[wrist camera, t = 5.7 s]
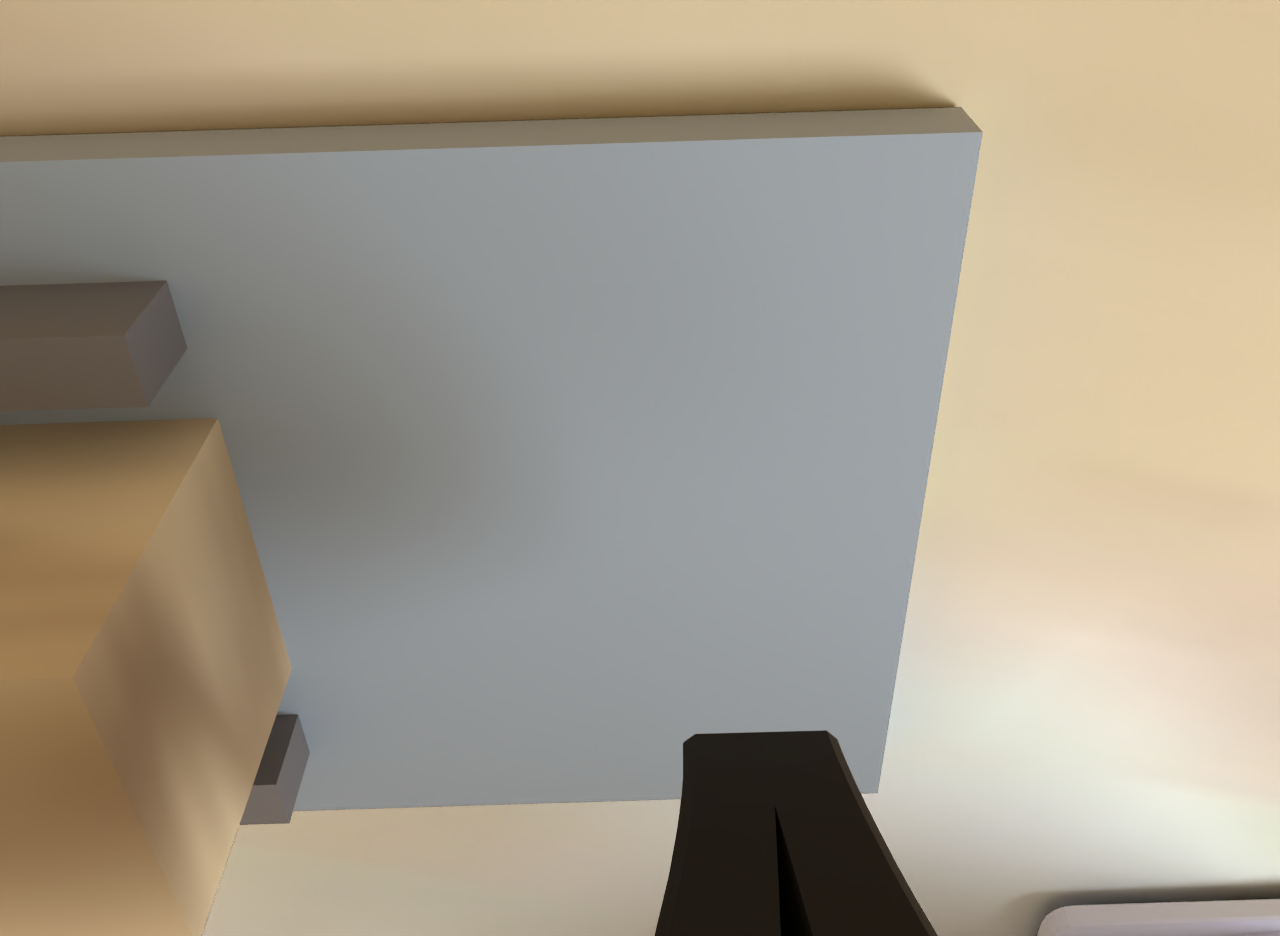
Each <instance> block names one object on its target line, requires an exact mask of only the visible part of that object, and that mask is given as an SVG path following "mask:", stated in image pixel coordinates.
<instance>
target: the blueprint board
mask: <svg viewBox="0 0 1280 936" xmlns="http://www.w3.org/2000/svg"><path fill="white" fill-rule="evenodd" d="M981 138H982V131H981V130H980V129H979V127H978V126H977V125H976V124H975V123H974V122H973V120H972V119H971V118H970V117H969V116H968V115H967V114H966V112H965V111H964V110H963V109H962V108H961V107H951V108H918V109H885V110H853V111H820V112H787V113H755V114H722V115H689V116H657V117H624V118H591V119H559V120H526V121H493V122H461V123H428V124H395V125H363V126H330V127H297V128H265V129H232V130H199V131H167V132H134V133H101V134H69V135H36V136H4V137H0V425H17V424H50V423H83V422H116V421H149V420H182V419H215V418H218V421H219V424H220V428H221V431H222V434H223V438H224V441H225V445H226V448H227V451H228V455H229V458H230V461H231V465H232V468H233V472H234V475H235V478H236V482H237V485H238V488H239V492H240V495H241V499H242V502H243V505H244V509H245V512H246V515H247V519H248V522H249V526H250V529H251V532H252V536H253V539H254V542H255V546H256V549H257V553H258V556H259V559H260V563H261V566H262V569H263V573H264V576H265V580H266V583H267V586H268V590H269V593H270V596H271V600H272V603H273V606H274V610H275V613H276V617H277V620H278V623H279V627H280V630H281V633H282V637H283V640H284V644H285V647H286V650H287V654H288V657H289V660H290V664H291V667H292V670H291V673H290V676H289V679H288V682H287V685H286V688H285V691H284V694H283V697H282V700H281V703H280V706H279V709H278V712H277V715H276V718H275V721H274V724H273V727H272V730H271V733H270V735H269V738H268V741H267V744H266V747H265V750H264V753H263V756H262V759H261V762H260V765H259V768H258V771H257V774H256V777H255V780H254V783H253V786H252V789H251V792H250V795H249V798H248V801H247V804H246V807H245V810H244V813H243V816H242V818H241V821H240V824H239V825H248V824H280V823H289V822H290V819H291V815H292V812H293V811H311V810H344V809H376V808H408V807H440V806H473V805H505V804H537V803H570V802H602V801H634V800H666V799H681V796H682V783H683V742H684V741H686V740H687V739H689V738H690V737H692V736H693V735H694V734H709V733H746V732H784V731H822V730H827V731H828V732H829V733H830V734H832V735H833V736H834V737H835V738H837V739H838V742H839V745H840V747H841V750H842V752H843V755H844V757H845V760H846V762H847V764H848V766H849V769H850V771H851V773H852V776H853V778H854V780H855V782H856V785H857V787H858V789H859V791H860V793H878V787H879V781H880V774H881V768H882V762H883V755H884V749H885V743H886V737H887V730H888V724H889V718H890V711H891V705H892V699H893V692H894V686H895V680H896V674H897V667H898V661H899V655H900V648H901V642H902V636H903V629H904V623H905V617H906V611H907V604H908V598H909V592H910V585H911V579H912V573H913V566H914V560H915V554H916V548H917V541H918V535H919V529H920V522H921V516H922V510H923V504H924V497H925V491H926V485H927V478H928V472H929V466H930V459H931V453H932V447H933V441H934V434H935V428H936V422H937V415H938V409H939V403H940V396H941V390H942V384H943V378H944V371H945V365H946V359H947V352H948V346H949V340H950V334H951V327H952V321H953V315H954V308H955V302H956V296H957V289H958V283H959V277H960V271H961V264H962V258H963V252H964V245H965V239H966V233H967V226H968V220H969V214H970V208H971V201H972V195H973V189H974V182H975V176H976V170H977V164H978V157H979V151H980V145H981Z"/></svg>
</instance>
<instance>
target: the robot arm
mask: <svg viewBox="0 0 1280 936" xmlns="http://www.w3.org/2000/svg"><path fill="white" fill-rule="evenodd" d="M655 936H937V934H936V932H935V930H934V929H933V927H932V925H931V924H930V922H929V920H928V919H927V917H926V915H925V914H924V912H923V910H922V908H921V907H920V905H919V903H918V902H917V900H916V898H915V897H914V895H913V893H912V891H911V889H910V888H909V886H908V884H907V882H906V880H905V879H904V877H903V875H902V873H901V871H900V870H899V868H898V866H897V864H896V862H895V860H894V858H893V856H892V854H891V853H890V851H889V849H888V847H887V845H886V843H885V841H884V839H883V837H882V835H881V833H880V832H879V830H878V828H877V826H876V824H875V822H874V820H873V818H872V816H871V814H870V812H869V810H868V808H867V806H866V804H865V802H864V799H863V797H862V795H861V793H860V791H859V789H858V787H857V785H856V782H855V780H854V778H853V776H852V773H851V771H850V769H849V766H848V764H847V762H846V760H845V757H844V755H843V752H842V750H841V747H840V745H839V742H838V739H837V738H835V737H834V736H833V735H832V734H830V733H829V732H828V731H827V730H822V731H784V732H746V733H709V734H694V735H693V736H692V737H690V738H689V739H687V740H686V741H684V742H683V783H682V796H681V806H680V814H679V821H678V828H677V834H676V840H675V845H674V851H673V856H672V862H671V867H670V873H669V878H668V882H667V886H666V890H665V894H664V899H663V903H662V907H661V911H660V916H659V920H658V924H657V928H656V933H655ZM1037 936H1280V899H1259V900H1226V901H1194V902H1162V903H1130V904H1098V905H1072V906H1064V907H1061V908H1058V909H1056V910H1053V911H1052V912H1050V913H1049V914H1048V915H1046V917H1045V918H1044V920H1043V921H1042V923H1041V925H1040V928H1039V931H1038V934H1037Z"/></svg>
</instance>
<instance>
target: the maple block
mask: <svg viewBox="0 0 1280 936" xmlns="http://www.w3.org/2000/svg"><path fill="white" fill-rule="evenodd" d="M291 670H292V667H291V664H290V660H289V657H288V654H287V650H286V647H285V644H284V640H283V637H282V633H281V630H280V627H279V623H278V620H277V617H276V613H275V610H274V606H273V603H272V600H271V596H270V593H269V590H268V586H267V583H266V580H265V576H264V573H263V569H262V566H261V563H260V559H259V556H258V553H257V549H256V546H255V542H254V539H253V536H252V532H251V529H250V526H249V522H248V519H247V515H246V512H245V509H244V505H243V502H242V499H241V495H240V492H239V488H238V485H237V482H236V478H235V475H234V472H233V468H232V465H231V461H230V458H229V455H228V451H227V448H226V445H225V441H224V438H223V434H222V431H221V428H220V424H219V421H218V418H215V419H182V420H149V421H116V422H83V423H50V424H17V425H0V936H202V934H203V931H204V928H205V925H206V922H207V919H208V916H209V913H210V910H211V907H212V904H213V901H214V899H215V896H216V893H217V890H218V887H219V884H220V881H221V878H222V875H223V872H224V869H225V866H226V863H227V860H228V857H229V854H230V851H231V848H232V845H233V842H234V839H235V836H236V833H237V830H238V827H239V824H240V821H241V818H242V816H243V813H244V810H245V807H246V804H247V801H248V798H249V795H250V792H251V789H252V786H253V783H254V780H255V777H256V774H257V771H258V768H259V765H260V762H261V759H262V756H263V753H264V750H265V747H266V744H267V741H268V738H269V735H270V733H271V730H272V727H273V724H274V721H275V718H276V715H277V712H278V709H279V706H280V703H281V700H282V697H283V694H284V691H285V688H286V685H287V682H288V679H289V676H290V673H291Z"/></svg>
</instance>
